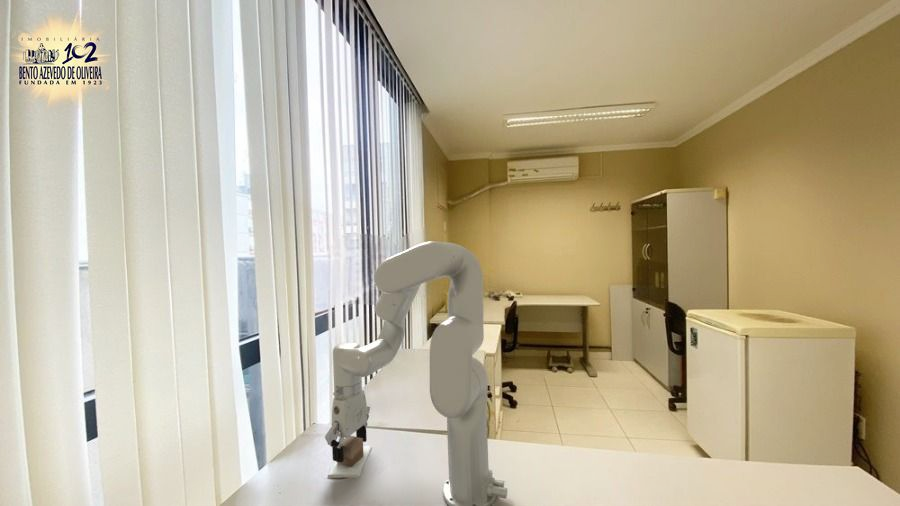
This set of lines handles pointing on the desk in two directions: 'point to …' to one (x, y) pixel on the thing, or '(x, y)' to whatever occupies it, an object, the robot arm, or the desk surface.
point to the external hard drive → (348, 471)
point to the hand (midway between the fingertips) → (350, 450)
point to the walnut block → (352, 450)
